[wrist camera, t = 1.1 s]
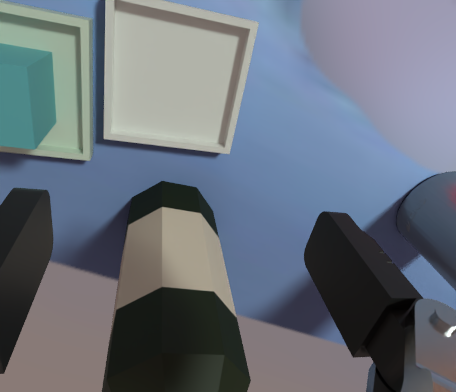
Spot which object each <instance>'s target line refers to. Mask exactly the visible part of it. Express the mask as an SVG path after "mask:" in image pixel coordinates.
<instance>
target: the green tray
mask: <svg viewBox="0 0 456 392" xmlns="http://www.w3.org/2000/svg"><path fill="white" fill-rule="evenodd" d="M0 43H3V44H9V45H14V46H20V47H26V48H31V49H37V50H43V51H49V52H52V58H53V74H54V90H55V106H56V124H55V125H54V126H53V127H52V129H51V130H50V131H49V133H48V134H47V135H46V136H45V138H44V139H43V140H42V142H41V143H40V144H39V145H38V147H37V148H36V149H35V150H33V149H24V148H15V147H5V146H0V152H9V153H19V154H29V155H38V156H48V157H57V158H67V159H77V160H86V161H90V160H91V157H92V155H93V19H92V18H87V17H82V16H77V15H72V14H67V13H62V12H58V11H53V10H48V9H43V8H38V7H33V6H28V5H23V4H18V3H13V2H8V1H4V0H0Z"/></svg>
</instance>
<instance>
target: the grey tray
mask: <svg viewBox="0 0 456 392" xmlns="http://www.w3.org/2000/svg"><path fill="white" fill-rule="evenodd" d="M258 24H259V23H258V22H256V21H252V20H248V19H244V18H239V17H235V16H231V15H226V14H222V13H217V12H213V11H209V10H204V9H200V8H195V7H191V6H187V5H182V4H178V3H173V2H169V1H165V0H105V75H104V139H108V140H116V141H125V142H133V143H141V144H150V145H158V146H166V147H175V148H183V149H191V150H200V151H208V152H216V153H225V154H230V149H231V145H232V140H233V136H234V131H235V127H236V123H237V118H238V114H239V109H240V105H241V100H242V96H243V91H244V87H245V82H246V78H247V73H248V69H249V64H250V60H251V56H252V51H253V47H254V42H255V38H256V33H257V29H258Z"/></svg>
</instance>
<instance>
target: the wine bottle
mask: <svg viewBox="0 0 456 392" xmlns="http://www.w3.org/2000/svg"><path fill="white" fill-rule="evenodd" d="M250 381H251V380H250V376H249V372H248V367H247V362H246V358H245V353H244V349H243V344H242V340H241V335H240V331H239V326H238V322H237V317H236V313H235V308H234V304H233V299H232V295H231V290H230V286H229V281H228V277H227V272H226V268H225V263H224V259H223V254H222V250H221V245H220V241H219V236H218V232H217V227H216V223H215V218H214V214H213V210H212V209H211V208H210V206H209V205H208V203H207V202H206V200H205V199H204V198H203V196H202V195H201V193H200V192H199V190H198V189H197V187H191V186H186V185H181V184H175V183H170V182H165V181H161V182H160V183H158V184H156V185H154V186H152V187H151V188H149V189H147V190H145V191H143V192H141V193H140V194H138V195H136V196H134V197H132V202H131V207H130V212H129V217H128V222H127V228H126V234H125V241H124V248H123V254H122V261H121V268H120V274H119V281H118V288H117V295H116V301H115V308H114V314H113V321H112V328H111V334H110V341H109V348H108V354H107V361H106V368H105V374H104V381H103V388H102V392H247V390H248V387H249V384H250Z"/></svg>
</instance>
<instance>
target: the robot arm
mask: <svg viewBox="0 0 456 392" xmlns="http://www.w3.org/2000/svg"><path fill="white" fill-rule="evenodd" d="M397 227H398V230H399V231H400V233H401V234H402V235H403V236H404V237H405V238H406V239H407V240H408V241H409V242H410V243H411V244H412V245H413V246H414V247H415V249H416V250H417V251H418V252H419V253H420V254H421V255H422V256H423V257H424V258H425V259H426V260H427V261H428V262H429V263H430V264H431V265H432V266H433V268H434V269H435V270H436V271H437V272H438V273H439V274H440V275H441V276H442V277H443V278H444V279H445V280H446V281H447V282H448V283H449V284H450V285H451V286H452V287H453V288H454V289H455V290H456V172H445V173H442V174H438V175H436V176H434V177H431V178H429V179H427V180H426V181H424V182H423V183H421V184H420V185H419V186H417V187H416V188H415V189H414V190H413V191H412V192H411V193H410V194H409V195H408V196H407V197H406V199H405V200H404V202H403V203H402V205H401V207H400V209H399V211H398V215H397ZM52 248H53V228H52V217H51V205H50V196H49V192H48V191H47V190H40V189H26V188H13V189H12V190H11V192H10V193H9V194H8V196H7V197H6V198H5V200H4V201H3V203H2V204H1V205H0V374H3V373H4V372H5V370H6V367H7V365H8V362H9V360H10V357H11V355H12V352H13V350H14V347H15V345H16V342H17V340H18V337H19V335H20V332H21V330H22V327H23V325H24V322H25V320H26V317H27V315H28V312H29V310H30V307H31V305H32V302H33V300H34V297H35V295H36V292H37V290H38V287H39V285H40V283H41V280H42V277H43V275H44V272H45V270H46V268H47V265H48V263H49V260H50V257H51V253H52ZM304 261H305V265H306V268H307V270H308V272H309V273H310V275H311V277H312V279H313V281H314V283H315V285H316V287H317V289H318V291H319V293H320V295H321V297H322V299H323V300H324V302H325V304H326V306H327V308H328V310H329V312H330V314H331V316H332V318H333V320H334V322H335V324H336V326H337V327H338V329H339V331H340V333H341V335H342V337H343V339H344V341H345V343H346V345H347V347H348V349H349V351H350V352H351V354H352V356H353V357H371V358H372V360H373V364H372V365H371V367H370V369H369V372H368V381H367V389H366V392H456V310H454V309H453V308H451V307H449V306H448V305H446V304H444V303H441V302H439V301H436V300H433V299H423V297H422V296H421V295H420V294H419V293H418V291H417V290H416V289H415V288H414V287H413V285H412V284H411V283H410V282H409V281H408V280H407V278H406V277H405V276H404V275H403V274H402V272H401V271H400V270H399V269H398V268H397V266H396V265H395V264H392V260H391V259H390V258H389V257H388V256H387V255H386V254H384V251H383V250H382V249H381V247H380V246H379V245H378V244H377V243H376V241H375V240H374V239H372V238H371V237H370V236H368V235H367V234H366V233H364V232H363V231H362V230H361V229H360V228H359V227H358V226H357V225H356V223H355V222H354V221H353V220H352V218H351V217H350V216H349V215H348V214H346V213H338V212H322V213H321V214H320V215H319V216H318V218H317V221H316V223H315V226H314V228H313V230H312V233H311V235H310V238H309V240H308V243H307V245H306V248H305V252H304Z"/></svg>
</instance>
